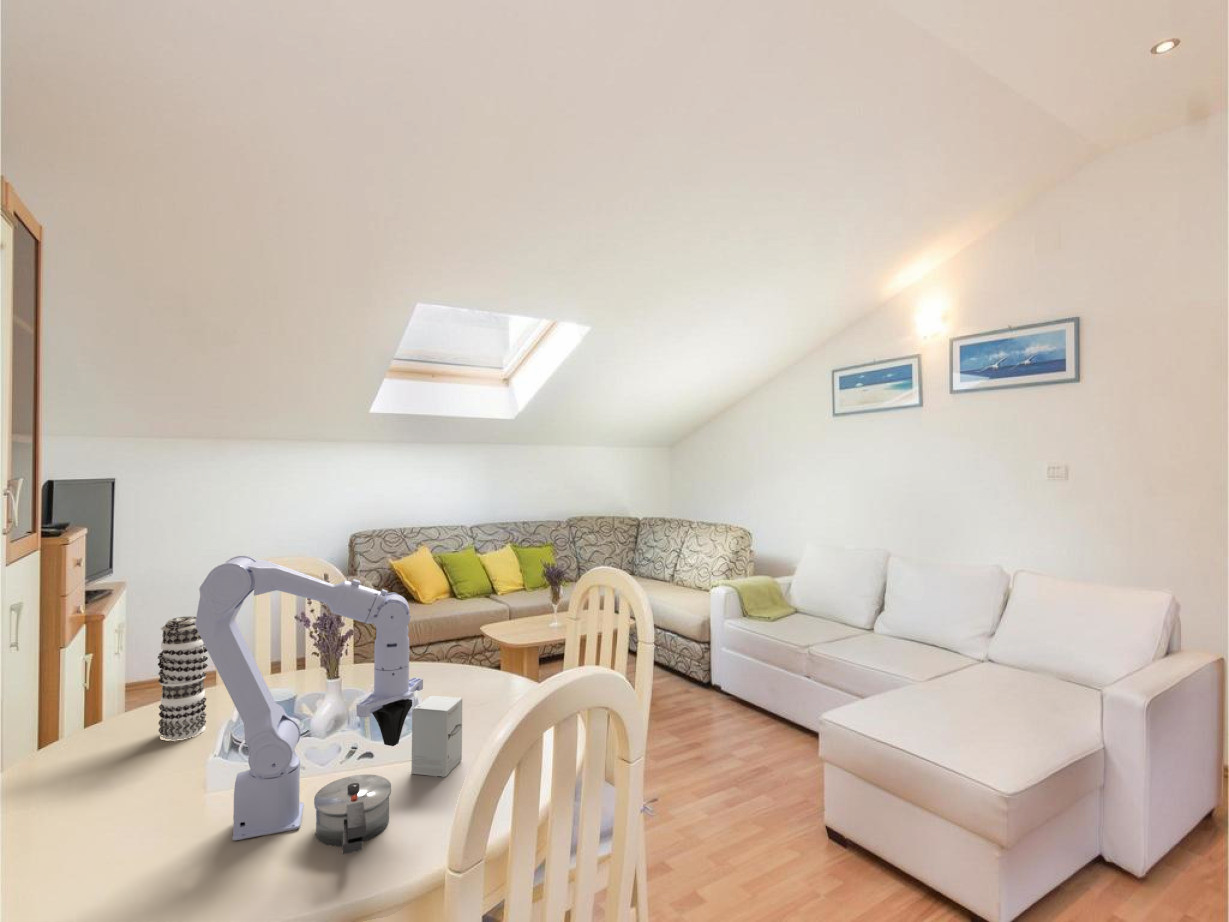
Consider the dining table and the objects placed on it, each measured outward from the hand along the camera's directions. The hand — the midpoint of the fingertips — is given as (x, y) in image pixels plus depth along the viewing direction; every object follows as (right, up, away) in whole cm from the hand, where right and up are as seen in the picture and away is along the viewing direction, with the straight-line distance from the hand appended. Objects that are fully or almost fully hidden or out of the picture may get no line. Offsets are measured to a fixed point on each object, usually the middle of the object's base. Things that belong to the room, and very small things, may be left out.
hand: (391, 743), depth 111 cm
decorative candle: (-55, -11, +29) cm, 63 cm away
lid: (-2, -5, -10) cm, 12 cm away
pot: (-2, -10, -10) cm, 15 cm away
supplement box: (+4, -11, +14) cm, 18 cm away
